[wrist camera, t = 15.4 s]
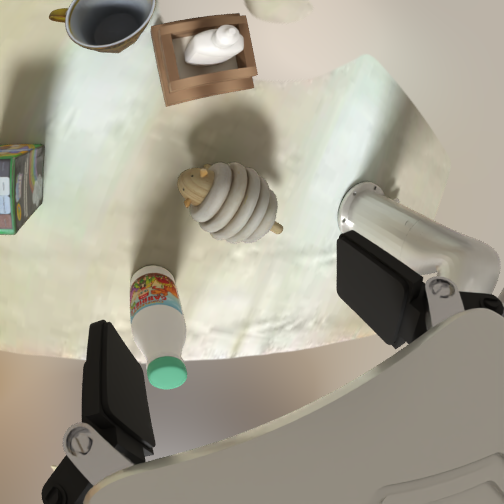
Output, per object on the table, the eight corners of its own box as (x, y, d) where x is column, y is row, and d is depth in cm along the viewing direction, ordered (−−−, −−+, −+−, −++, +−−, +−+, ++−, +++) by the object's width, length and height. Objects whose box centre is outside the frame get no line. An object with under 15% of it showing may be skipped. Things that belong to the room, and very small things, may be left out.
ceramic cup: (160, 7, 25) (167, -23, 17) (141, 67, 29) (140, 50, 21) (76, 4, 20) (60, -23, 12) (55, 64, 24) (30, 51, 16)
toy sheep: (189, 138, 37) (205, 146, 28) (282, 184, 45) (320, 205, 36) (158, 204, 39) (164, 234, 30) (253, 239, 48) (282, 272, 39)
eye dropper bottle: (216, 77, 31) (247, 61, 22) (178, 60, 29) (194, 36, 19) (231, 51, 30) (267, 28, 20) (194, 34, 27) (216, 2, 18)
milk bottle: (184, 284, 47) (214, 375, 30) (151, 310, 47) (167, 404, 30) (154, 254, 43) (169, 345, 26) (120, 283, 42) (120, 380, 26)
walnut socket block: (233, 18, 30) (248, 5, 25) (247, 89, 36) (264, 85, 31) (150, 31, 27) (152, 17, 22) (166, 106, 33) (169, 104, 28)
